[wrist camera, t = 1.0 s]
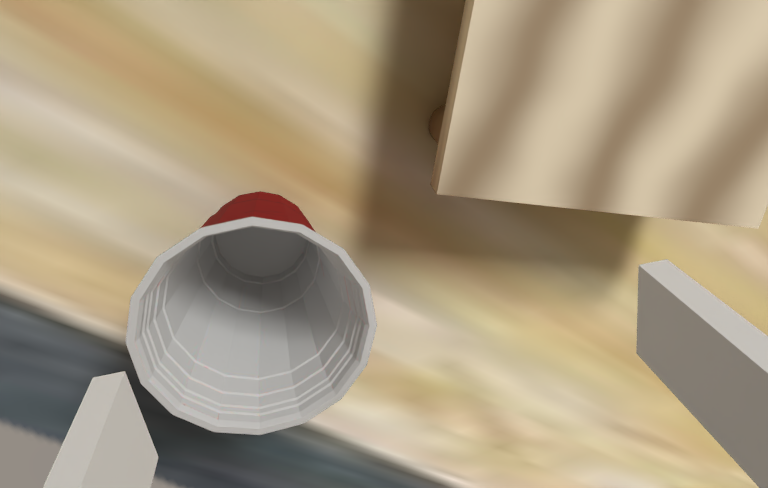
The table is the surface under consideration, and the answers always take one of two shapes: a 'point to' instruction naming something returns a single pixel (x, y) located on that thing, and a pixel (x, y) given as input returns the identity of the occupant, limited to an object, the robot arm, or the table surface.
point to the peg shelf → (610, 107)
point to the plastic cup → (251, 320)
